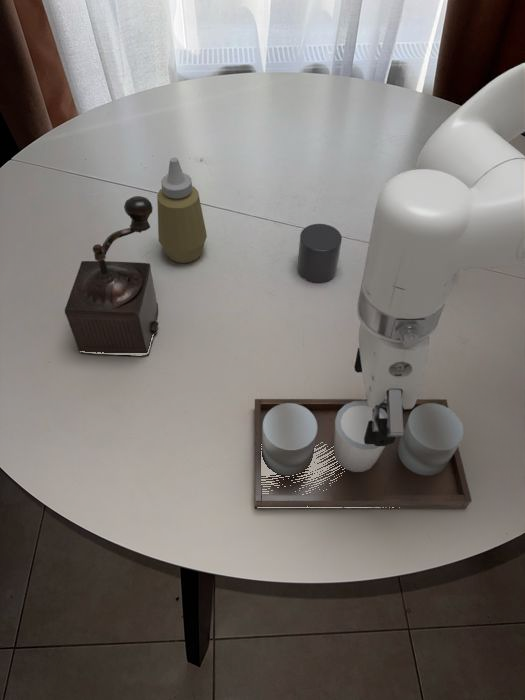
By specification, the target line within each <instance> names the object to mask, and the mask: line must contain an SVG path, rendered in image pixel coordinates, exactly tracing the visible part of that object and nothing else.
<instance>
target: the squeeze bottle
mask: <svg viewBox="0 0 525 700" xmlns="http://www.w3.org/2000/svg"><path fill="white" fill-rule="evenodd" d="M189 175H190V174H189ZM189 175H188V174H186V173H184V171H183V170H182V167H181V163H180V161H179V159H178V158H177V157H175V156H174V157H171V158H170V160H169V164H168V173H167V174H166V175H165V176H163V177H162V178H161V180H160V183H161V184H160V185H161V189H159V191H158V193H157V196H156V198H157V199H156V200H157V201H156V202H157V230H158V231H157V232H158V242H159V243H160V246H161V247H162V249H163V250H164V252H165V253H166V255H167V257H168V258H169V259H170V260H171V261H173V262H174V263H178V264H179V263H180V264H187V263H188V264H189V263H191V262H195V261H196V260H197V259H198V258H199V257H200V256H201V254H202V252H203V249H204V246H205V243H206V241H207V237H208V236H207V229H206V224H205V219H204V214H203V209H202V204H201V199H200V194H199V190H198V189H197V188H196V187H195V186H193V181H192V178H191V176H189Z"/></svg>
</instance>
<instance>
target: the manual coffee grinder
mask: <svg viewBox="0 0 525 700" xmlns="http://www.w3.org/2000/svg"><path fill="white" fill-rule="evenodd" d="M123 208H124V212H125V214H126V215H127V216H128V217H129V218H130V219H131V221H130V225H129V227H128V228H124V229H123V228H122V229H120V230H117V231H115V232H113V233H111V234H110V235H108V236H107V237H106V239H105V240H104V242H103V243H102V244H98V243H96V244H94V245H93V246H92V251H93V255H94V256H93V257H94V260H81V262H80V265H79V268H78V271H77V273H76V277H75V279H74V283H73V285H72V287H71V290H70V292H69V296H68V300H67V303H66V305H65V307H64V314H65V317H66V319H67V322H68V324H69V327H70V329H71V332H72V335H73V338H74V340H75V344H76V346H77V349H78V352H79V351H85V352H96V353H97V352H101V353H102V352H104V353H147V352H148V349H149V346H150V342H151V338H152V335H153V334H154V333H156V334H157V333H158V330H159V321H157V322H156V318H157V319H158V317H157V316H159V304H158V300H157V295H156V289H155V284H154V280H153V274H152V268H151V266H152V265H151V264H150V262H137V261H136V262H135V261H134V262H132V261H111V260H109V261H108V260H106V259H107V258H106V257H107V256H106V255H107V253H108V251H109V249H110V248H111V246H112V244H113V243H114V242H115V241H116V240H118V239H120V238H122V237H126V236H129V235H131V234H134V233H142V232H146V231H147V230H149V229H150V228H151V225H150V223H149V220H148V219H149V217H150V215H151V214H152V213H153V210H154V209H153V205H152V202H151V201H150V200H149V199H148V197H144V196H140V195H137V196H136V195H135V196H132V197H130V198H128V199H126V200H125V203H124V206H123Z"/></svg>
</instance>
